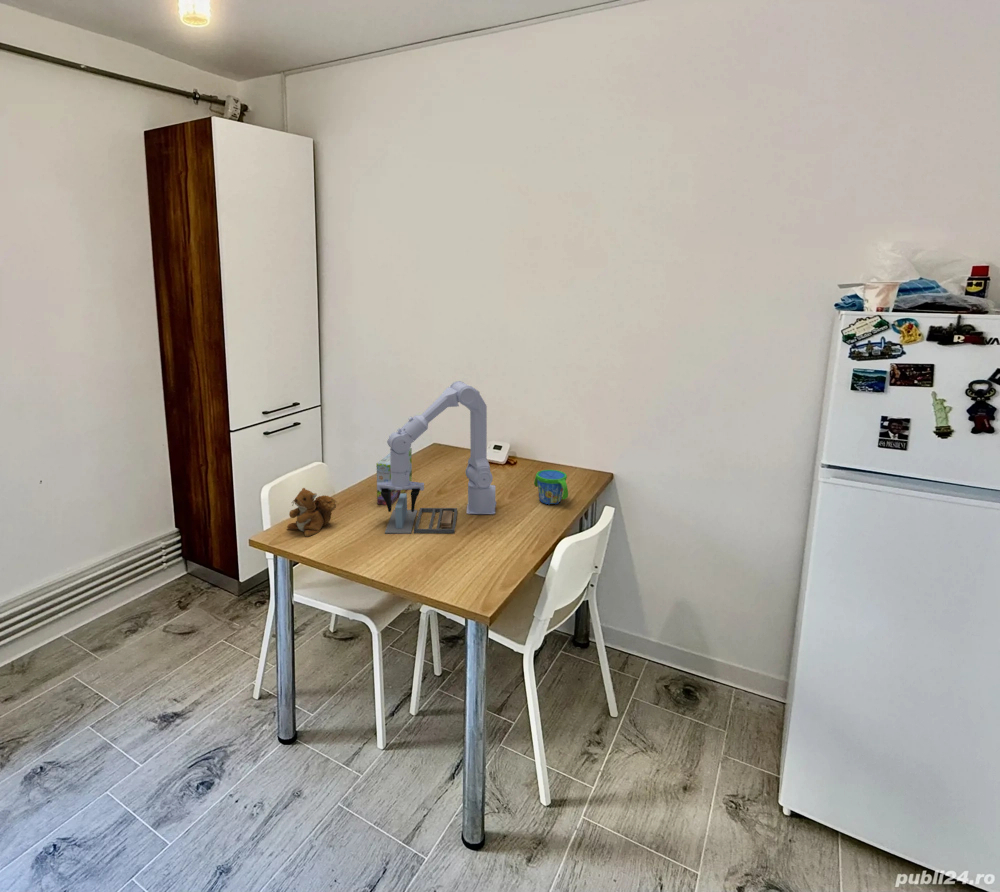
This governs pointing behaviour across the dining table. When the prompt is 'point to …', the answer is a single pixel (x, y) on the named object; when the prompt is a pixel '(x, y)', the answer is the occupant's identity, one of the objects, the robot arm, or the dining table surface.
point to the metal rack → (430, 530)
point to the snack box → (389, 477)
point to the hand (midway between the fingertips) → (401, 510)
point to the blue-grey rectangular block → (401, 510)
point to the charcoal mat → (406, 527)
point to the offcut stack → (446, 520)
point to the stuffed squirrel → (311, 512)
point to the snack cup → (551, 486)
